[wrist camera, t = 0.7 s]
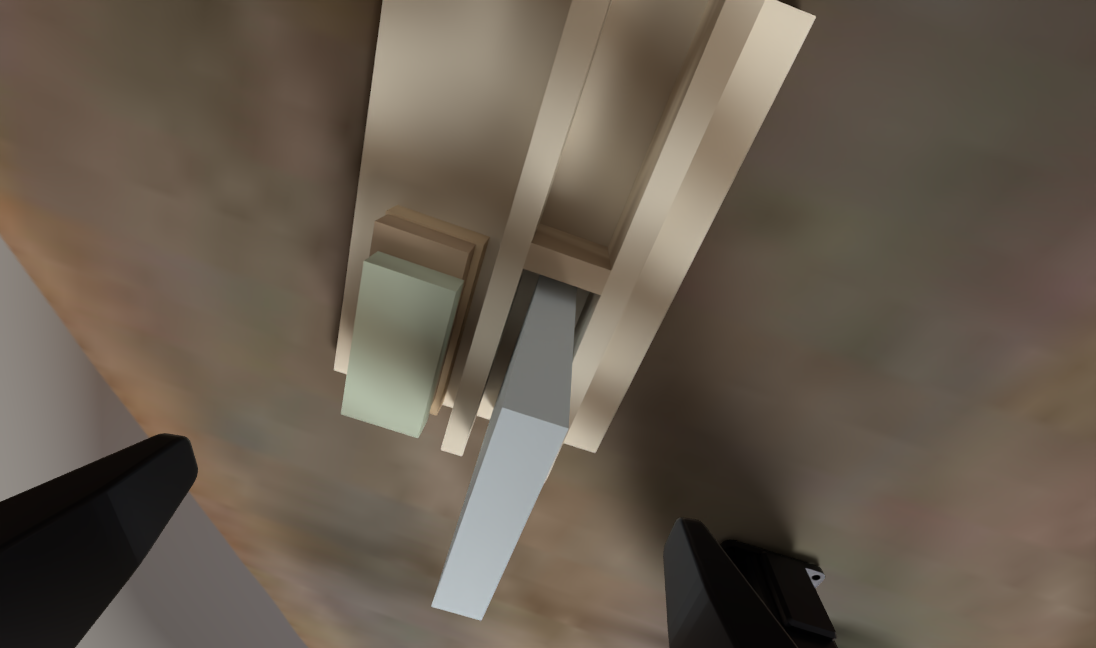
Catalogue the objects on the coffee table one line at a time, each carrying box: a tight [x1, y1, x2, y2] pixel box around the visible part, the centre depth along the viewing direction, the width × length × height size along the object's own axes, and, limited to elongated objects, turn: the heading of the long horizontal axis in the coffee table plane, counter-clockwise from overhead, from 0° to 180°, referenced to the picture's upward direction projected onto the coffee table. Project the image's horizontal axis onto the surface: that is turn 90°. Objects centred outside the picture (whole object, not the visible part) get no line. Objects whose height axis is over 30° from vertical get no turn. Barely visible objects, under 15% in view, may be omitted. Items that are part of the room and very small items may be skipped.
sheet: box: [431, 275, 577, 620], centre depth 16 cm, size 8×2×10 cm, turn 162°
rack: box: [334, 0, 816, 482], centre depth 18 cm, size 20×14×4 cm
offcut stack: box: [341, 205, 490, 438], centre depth 19 cm, size 9×4×4 cm, turn 162°
